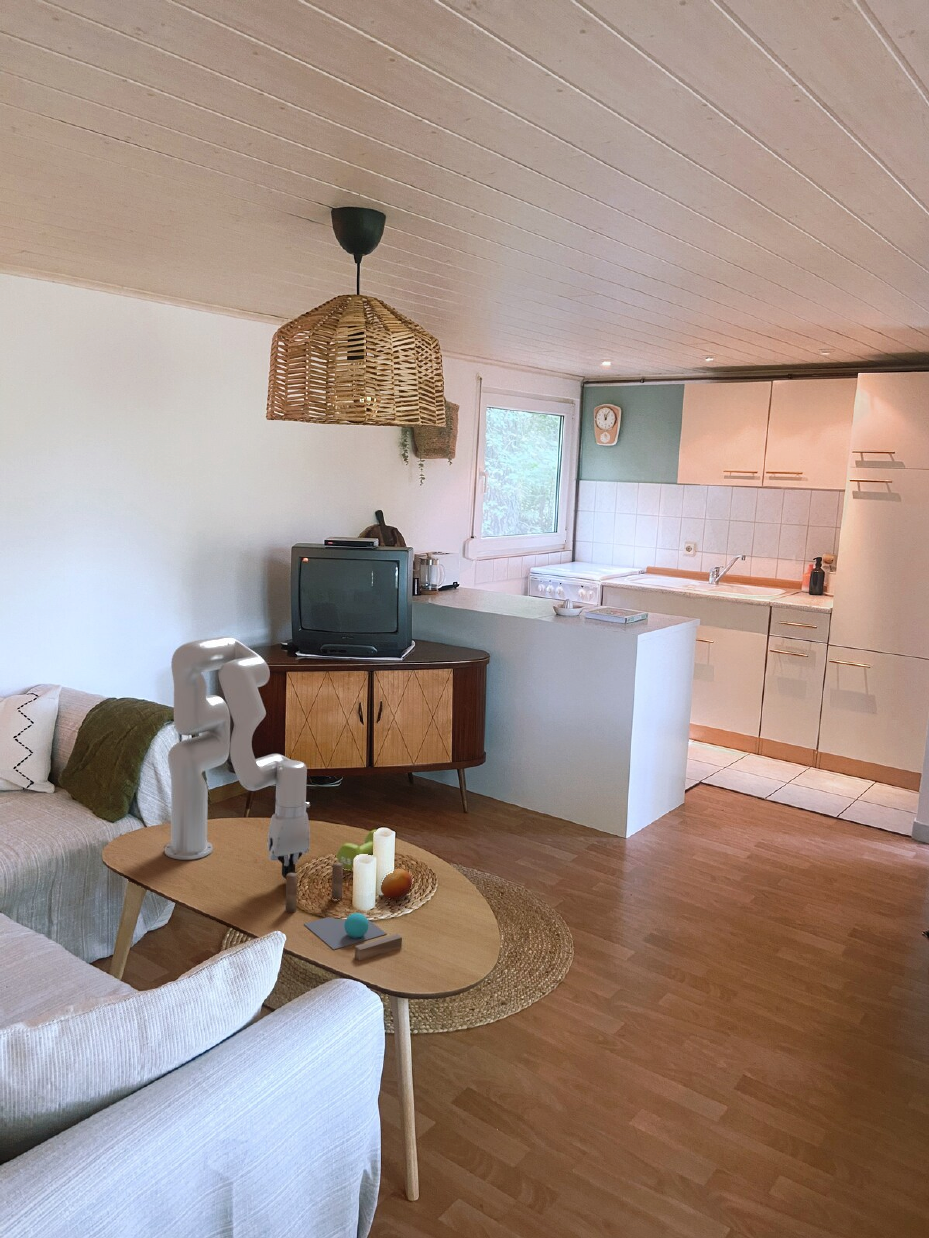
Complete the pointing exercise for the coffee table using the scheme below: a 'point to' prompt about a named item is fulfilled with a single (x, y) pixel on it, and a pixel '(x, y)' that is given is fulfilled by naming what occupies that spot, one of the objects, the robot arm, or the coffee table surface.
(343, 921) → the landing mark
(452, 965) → the coffee table surface
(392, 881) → the fruit
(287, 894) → the post
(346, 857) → the dumbbell
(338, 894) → the post
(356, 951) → the strip
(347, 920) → the ball
